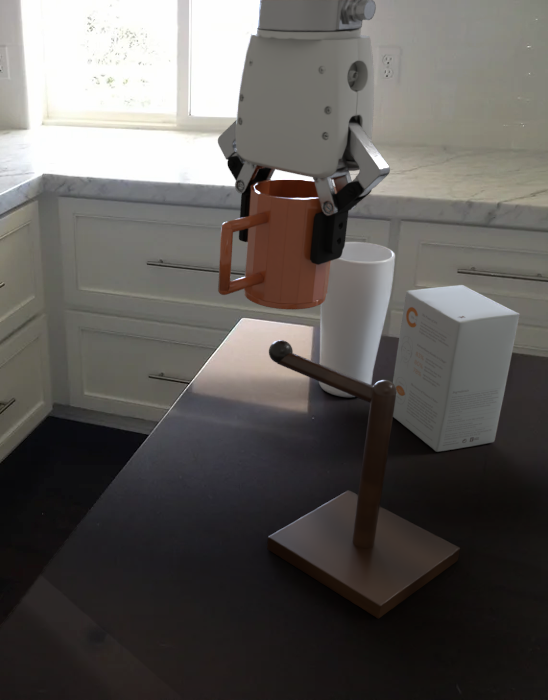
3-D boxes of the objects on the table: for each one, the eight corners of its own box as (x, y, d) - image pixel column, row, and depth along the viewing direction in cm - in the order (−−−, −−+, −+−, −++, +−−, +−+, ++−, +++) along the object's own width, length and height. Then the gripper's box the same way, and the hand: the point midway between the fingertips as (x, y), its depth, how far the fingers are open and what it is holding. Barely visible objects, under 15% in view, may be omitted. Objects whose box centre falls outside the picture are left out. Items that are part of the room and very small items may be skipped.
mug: (280, 275, 76) (288, 174, 73) (343, 296, 72) (355, 189, 68) (188, 305, 70) (192, 196, 67) (250, 330, 66) (258, 214, 62)
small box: (495, 443, 80) (523, 313, 75) (435, 453, 79) (458, 321, 73) (441, 404, 87) (463, 282, 82) (385, 412, 86) (403, 289, 81)
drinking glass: (310, 399, 89) (324, 260, 83) (310, 371, 95) (323, 239, 89) (379, 405, 87) (399, 264, 81) (375, 376, 93) (393, 243, 87)
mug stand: (298, 476, 76) (313, 320, 70) (458, 560, 65) (493, 384, 59) (218, 519, 70) (227, 353, 64) (378, 619, 60) (407, 432, 53)
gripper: (446, 16, 59) (409, 266, 66) (254, 8, 72) (241, 218, 79) (379, 23, 55) (348, 288, 62) (188, 12, 67) (181, 234, 75)
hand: (288, 247), depth 70 cm, fingers closed on mug, 6 cm apart
